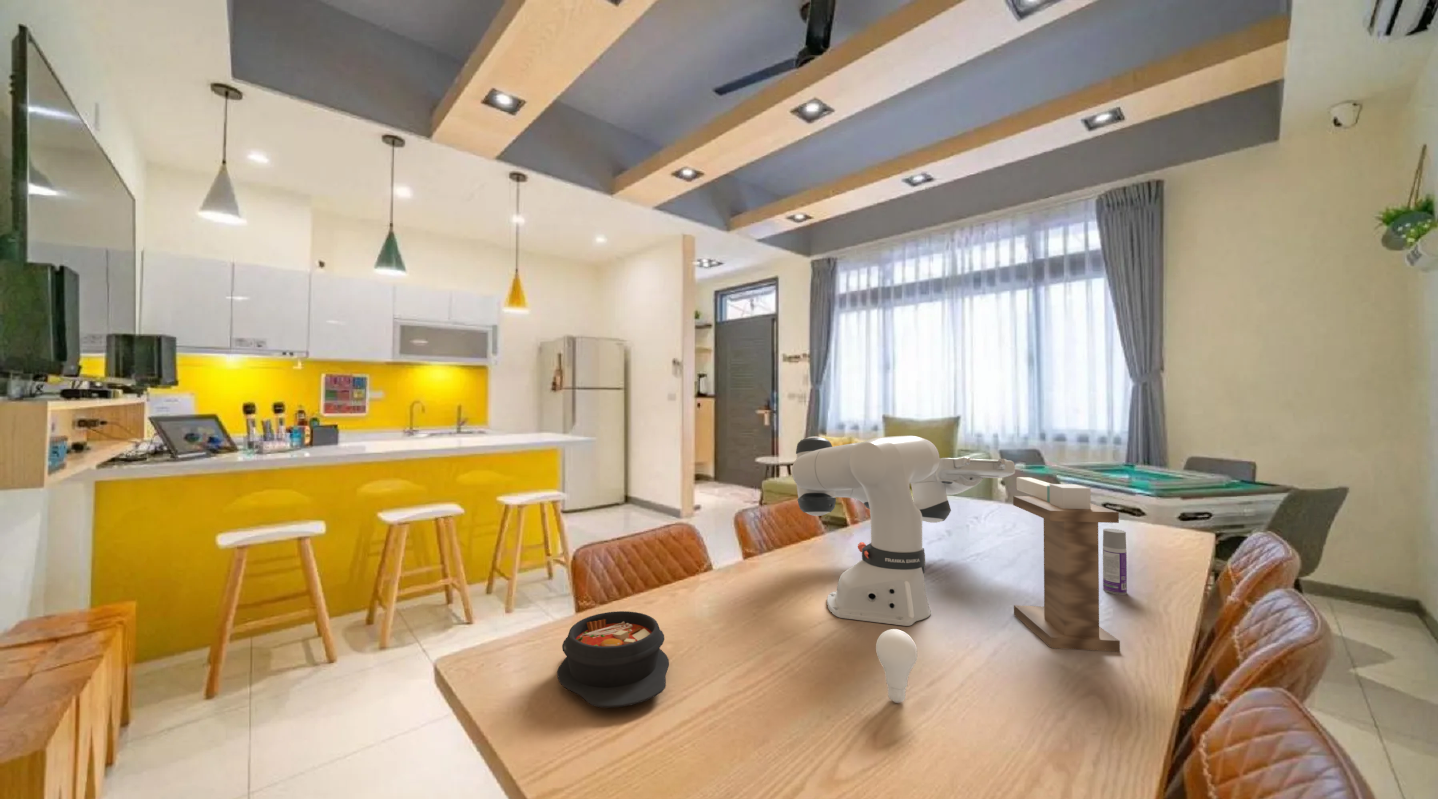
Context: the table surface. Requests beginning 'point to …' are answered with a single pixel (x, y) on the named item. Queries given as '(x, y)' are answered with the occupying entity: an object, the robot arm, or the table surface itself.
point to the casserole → (614, 659)
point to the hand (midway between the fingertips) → (985, 461)
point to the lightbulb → (896, 660)
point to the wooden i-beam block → (1069, 577)
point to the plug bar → (1057, 493)
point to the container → (1114, 561)
